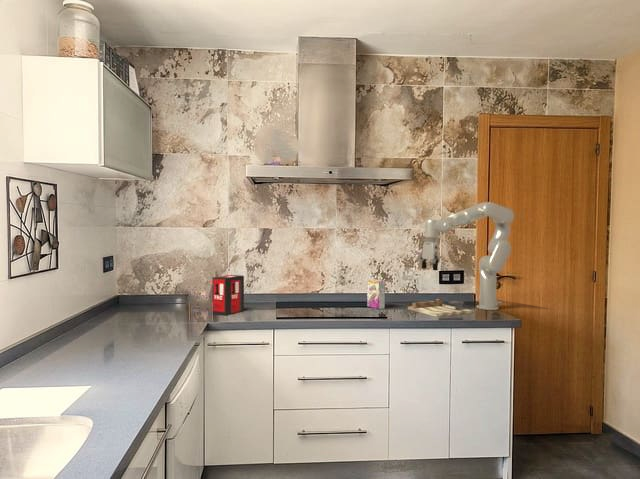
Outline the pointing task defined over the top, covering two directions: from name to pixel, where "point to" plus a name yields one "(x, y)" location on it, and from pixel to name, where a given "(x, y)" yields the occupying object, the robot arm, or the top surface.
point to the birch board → (440, 310)
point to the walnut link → (427, 303)
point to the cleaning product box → (228, 294)
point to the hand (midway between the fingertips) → (429, 269)
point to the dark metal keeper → (457, 304)
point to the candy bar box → (376, 294)
